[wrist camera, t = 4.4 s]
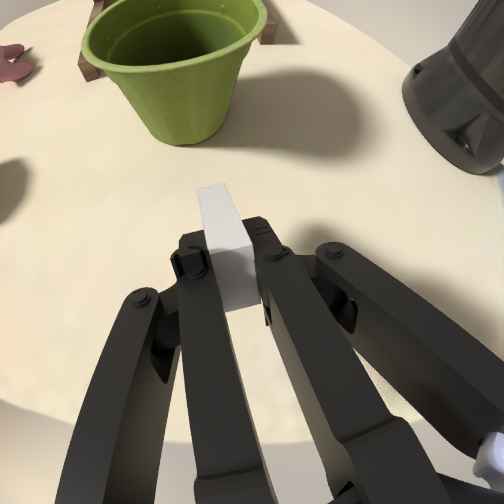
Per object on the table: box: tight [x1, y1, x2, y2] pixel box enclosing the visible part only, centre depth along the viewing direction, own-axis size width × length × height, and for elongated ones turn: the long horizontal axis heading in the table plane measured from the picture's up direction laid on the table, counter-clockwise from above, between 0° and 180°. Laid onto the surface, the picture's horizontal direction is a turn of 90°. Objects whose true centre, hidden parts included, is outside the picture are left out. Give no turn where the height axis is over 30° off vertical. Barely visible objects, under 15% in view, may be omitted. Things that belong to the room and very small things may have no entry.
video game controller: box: [0, 44, 33, 83], centre depth 23 cm, size 10×5×7 cm, turn 40°
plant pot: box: [81, 0, 268, 145], centre depth 19 cm, size 12×12×11 cm
